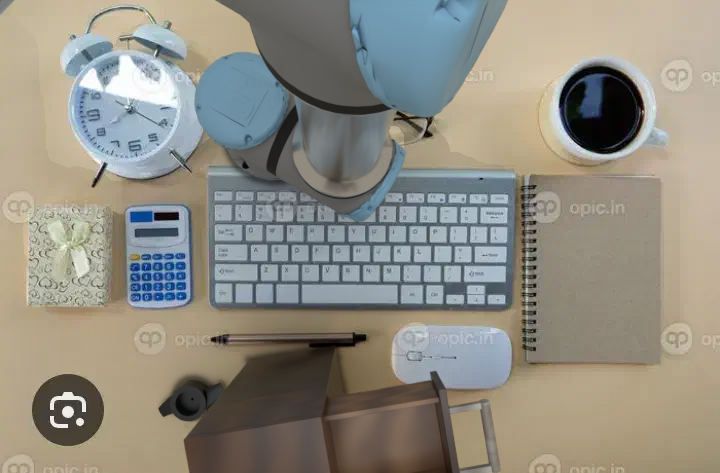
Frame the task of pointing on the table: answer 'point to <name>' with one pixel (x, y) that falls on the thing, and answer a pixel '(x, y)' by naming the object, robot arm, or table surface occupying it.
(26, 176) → the table surface
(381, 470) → the drawer
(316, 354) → the slanted brown box
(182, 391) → the dark grey rounded piece
